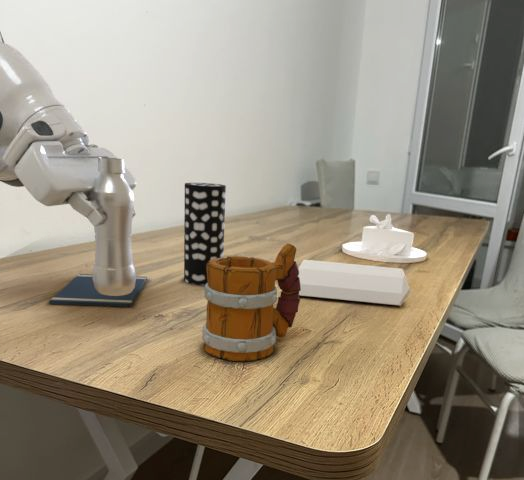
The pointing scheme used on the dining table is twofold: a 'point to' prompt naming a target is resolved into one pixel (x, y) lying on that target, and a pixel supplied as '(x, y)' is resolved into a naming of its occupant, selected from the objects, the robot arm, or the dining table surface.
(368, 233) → the dish
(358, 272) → the white hexagonal prism
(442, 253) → the dining table surface
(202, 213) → the white-spotted black cylinder
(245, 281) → the mug
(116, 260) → the silver metal bottle
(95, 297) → the towel
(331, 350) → the dining table surface
